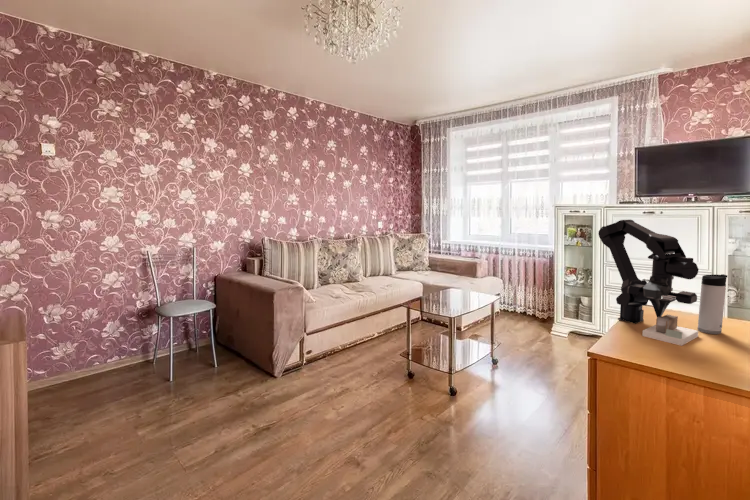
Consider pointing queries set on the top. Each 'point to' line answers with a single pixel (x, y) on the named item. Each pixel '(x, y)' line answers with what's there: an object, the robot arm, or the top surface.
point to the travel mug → (712, 303)
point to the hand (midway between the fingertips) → (658, 317)
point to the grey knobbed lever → (666, 323)
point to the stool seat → (672, 335)
